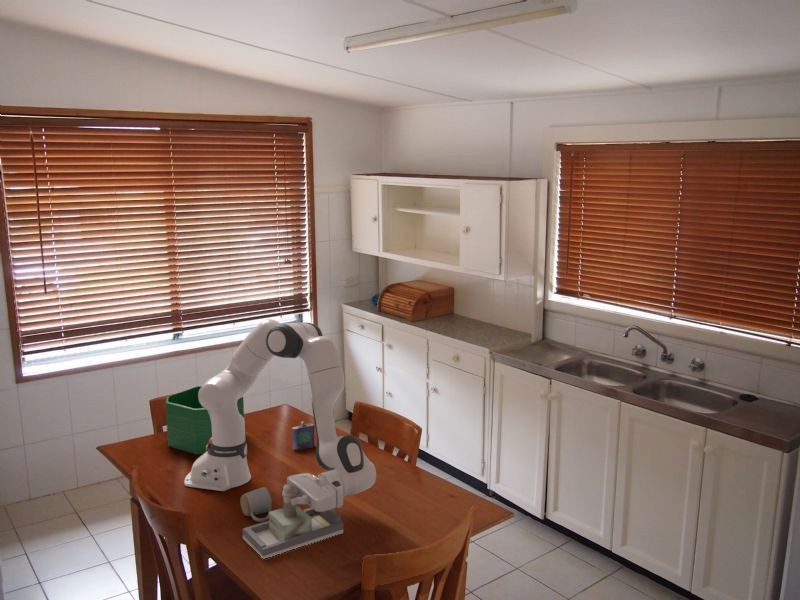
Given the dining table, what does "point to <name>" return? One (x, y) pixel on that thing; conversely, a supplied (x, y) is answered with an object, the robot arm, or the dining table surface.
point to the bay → (270, 545)
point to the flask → (303, 436)
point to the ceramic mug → (256, 503)
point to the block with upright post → (289, 517)
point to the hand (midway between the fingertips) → (286, 498)
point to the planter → (190, 421)
